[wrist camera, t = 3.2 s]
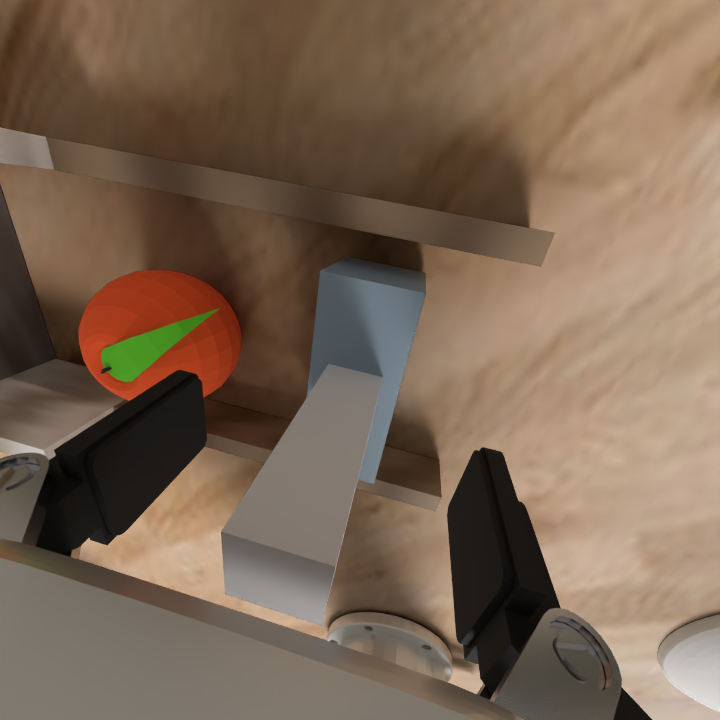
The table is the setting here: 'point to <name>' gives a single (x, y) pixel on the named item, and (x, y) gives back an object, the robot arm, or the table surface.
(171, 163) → the frame
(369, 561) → the table surface
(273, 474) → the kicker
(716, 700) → the candlestick
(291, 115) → the table surface
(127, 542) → the table surface
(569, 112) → the table surface
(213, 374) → the clementine
